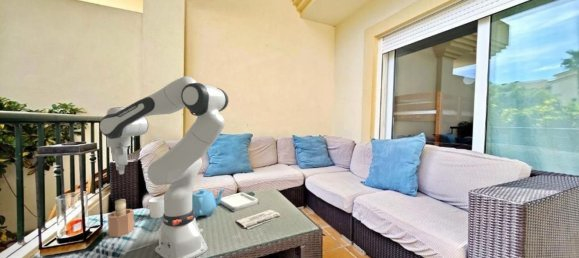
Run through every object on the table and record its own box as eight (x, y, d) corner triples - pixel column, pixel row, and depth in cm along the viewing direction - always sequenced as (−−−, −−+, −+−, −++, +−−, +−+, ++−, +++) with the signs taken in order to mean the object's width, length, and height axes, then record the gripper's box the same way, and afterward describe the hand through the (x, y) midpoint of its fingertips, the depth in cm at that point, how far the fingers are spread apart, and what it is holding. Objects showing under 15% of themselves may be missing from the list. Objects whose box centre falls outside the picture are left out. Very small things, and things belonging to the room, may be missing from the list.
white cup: (168, 214, 127) (168, 197, 127) (159, 220, 119) (158, 202, 119) (155, 213, 128) (155, 196, 127) (145, 220, 120) (145, 201, 120)
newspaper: (246, 231, 110) (246, 226, 110) (235, 225, 119) (235, 220, 119) (283, 218, 124) (283, 213, 124) (270, 213, 133) (270, 208, 133)
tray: (259, 203, 143) (259, 199, 143) (234, 211, 131) (234, 207, 131) (242, 195, 158) (242, 192, 158) (218, 202, 145) (218, 198, 145)
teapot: (179, 215, 126) (178, 191, 125) (210, 204, 141) (209, 182, 140) (195, 224, 116) (194, 197, 115) (226, 211, 132) (226, 187, 131)
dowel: (127, 231, 106) (126, 200, 105) (116, 234, 103) (115, 202, 102) (126, 228, 109) (124, 198, 108) (115, 231, 106) (114, 200, 105)
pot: (135, 233, 106) (134, 213, 106) (110, 241, 100) (109, 219, 99) (131, 226, 113) (130, 207, 112) (108, 233, 106) (107, 212, 106)
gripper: (131, 144, 99) (132, 175, 100) (124, 140, 114) (125, 167, 114) (113, 145, 94) (114, 177, 95) (108, 141, 109) (109, 169, 110)
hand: (120, 172), depth 105 cm, fingers open, 8 cm apart
